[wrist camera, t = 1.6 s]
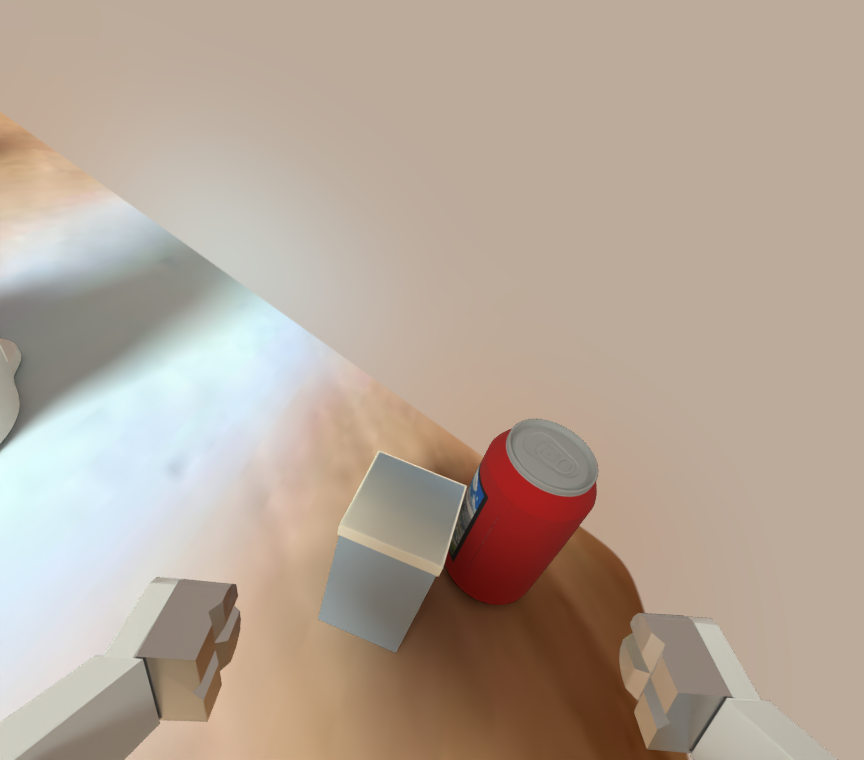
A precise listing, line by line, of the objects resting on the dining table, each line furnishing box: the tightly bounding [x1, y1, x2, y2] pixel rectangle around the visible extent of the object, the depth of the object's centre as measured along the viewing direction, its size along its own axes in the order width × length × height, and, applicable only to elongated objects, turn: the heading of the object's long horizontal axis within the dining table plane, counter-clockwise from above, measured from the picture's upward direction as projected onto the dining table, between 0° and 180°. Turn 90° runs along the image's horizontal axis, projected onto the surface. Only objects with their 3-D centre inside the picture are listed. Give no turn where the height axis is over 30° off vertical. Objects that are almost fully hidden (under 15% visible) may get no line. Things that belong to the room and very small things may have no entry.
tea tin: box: [318, 450, 467, 653], centre depth 28 cm, size 5×5×10 cm
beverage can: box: [445, 419, 598, 605], centre depth 31 cm, size 7×7×12 cm
